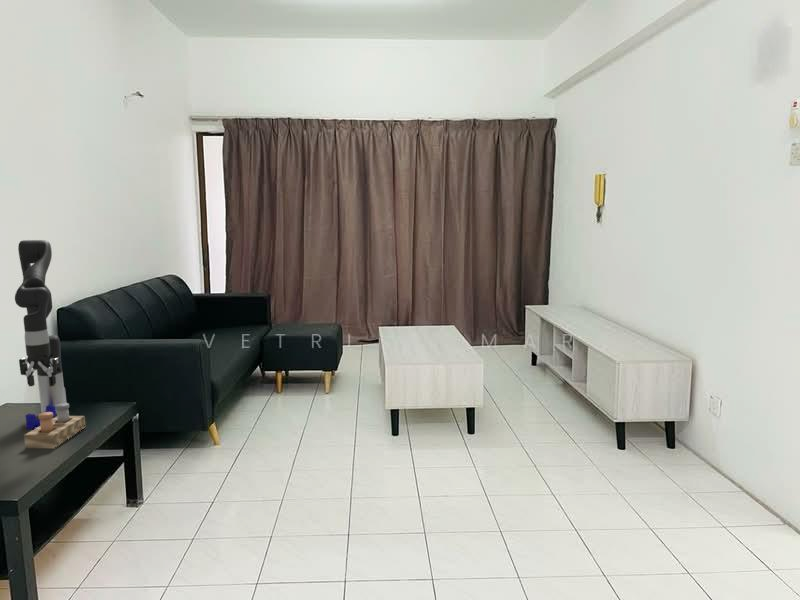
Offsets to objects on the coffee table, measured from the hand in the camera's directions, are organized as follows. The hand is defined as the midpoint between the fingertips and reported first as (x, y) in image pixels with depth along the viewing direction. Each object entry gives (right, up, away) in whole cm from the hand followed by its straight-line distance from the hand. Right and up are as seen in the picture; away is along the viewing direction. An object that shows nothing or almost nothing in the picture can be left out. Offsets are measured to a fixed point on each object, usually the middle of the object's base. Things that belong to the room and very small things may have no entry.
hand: (42, 385), depth 219 cm
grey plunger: (+1, -17, +13) cm, 21 cm away
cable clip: (-15, -19, +23) cm, 33 cm away
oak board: (0, -21, +9) cm, 23 cm away
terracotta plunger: (0, -18, +3) cm, 19 cm away
